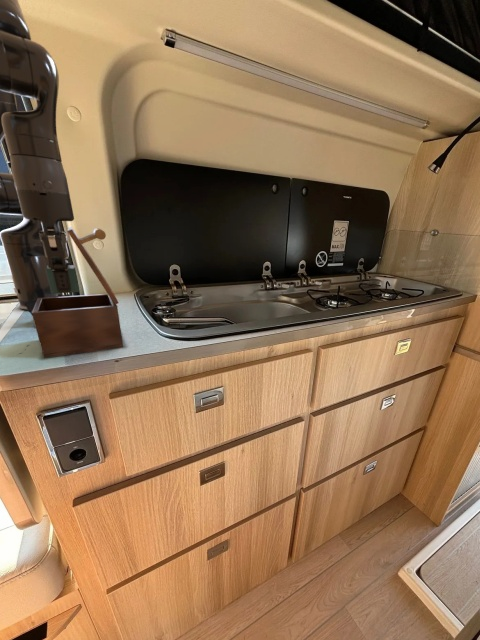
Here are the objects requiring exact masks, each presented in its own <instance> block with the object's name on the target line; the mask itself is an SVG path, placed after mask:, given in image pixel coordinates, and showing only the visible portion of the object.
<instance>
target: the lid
mask: <svg viewBox="0 0 480 640" xmlns="http://www.w3.org/2000/svg"><path fill="white" fill-rule="evenodd" d="M67 233H68V235H69V237H70V238H71V240H72V241H73V242H74V244H75V246H76V247H77V248H78V250H79V252H80V254H81V255H82V256H83V258H84V259H85V261H86V262H87V264H88V266H89V268H90V269H91V270H92V272H93V274H94V275H95V277H96V278H97V280H98V282H99V283H100V284H101V285H102V287H103V289H104V290H105V292H106V294H108V295H109V296H110V298H111V299H112V301H113V303H114V304H115V305H119V300H118V298H117V296H116V295H115V293H114V291H113V289H112V287H111V286H110V285H109V283H108V282H107V280H106V278H105V277H104V275H103V273H102V271H101V270H100V268H99V267H98V266H97V264H96V262H95V261H94V259H93V258H92V256H91V255H90V253H89V252H88V250H87V248H86V246H85V245H84V244H86V243H89V242H91V241H93V240H96V239H97V240H101V241H103V240H104V239H106V235H107V234H106V232H105V231H104V230H103V229H101V228H98V227H97V228H96V227H95V228H94V229H93V232H92V233H89V234H87V235H84V236H82V237H79V236H78V234H77V233H76V231H75V230H74V228H73V226H71V227H68V228H67Z"/></svg>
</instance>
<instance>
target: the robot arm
mask: <svg viewBox="0 0 480 640" xmlns="http://www.w3.org/2000/svg"><path fill="white" fill-rule="evenodd" d="M30 32H31V31H30V28H29V27H28V23H27V21H26V19H25V16H24V14H23V11H22V8H21V6H20V3H19V0H0V145H1V144H2V142H3V141H4V139H5V142H6V147H7V150H8V151H7V152H8V154H9V159H10V169H11V173H7V172H0V215H8V216H9V215H10V216H12V215H13V216H22V217H23V220H22V221H21V222H20V223H18V224H17V225H15V226H12V227H10V228H9V227H8V228H6V229H3V230H1V231H0V240H1V244H2V247H3V251H4V255H5V259H6V261H7V265H8V268H9V272H10V276H11V279H12V282H13V285H14V287H13V290H14V293H15V294H16V297H17V300H18V304H19V309H21V310H25V311H29V310H28V309H27V307H26V306H25V302H27V301H33V300H37V299H38V298H48V297H56V296H61V295H63V294H64V293H63V292H71V285H70V280H69V275H68V270H69V268H68V265H70V264H69V263H70V262H69V257H70V256H69V255H70V254H69V249H68V245H67V243H68V236H67V233H66V231H61V227H60V222H73V221H74V220H75V215H74V210H73V205H72V204H73V203H72V199H71V194H70V190H69V183H68V180H67V179H68V178H67V175H66V173H65V169H64V165H63V161H62V156H61V150H60V144H59V139H58V133H57V106H58V97H59V88H60V75H59V69H58V67H57V63H56V62H55V60H54V58H53V56H52V55H51V53H50V52H49V51H48V49H47V48H46V47H45V46H43V45H42V44H40V43H38V42H36V41H34V40H32V36H31V33H30ZM16 96H21V97H23V98H28V99H33V100H35V101H36V106H35V108H34V109H33V110H32V109H31V110H18V105H17V104H18V103H17V98H16ZM47 266H49V268H50V269H51V270H52V272H53V273H54V278H55V282H56V286H57V291H58V292H60V293H55V294H52V293H51V290H50V285H49V281H48V277H47V273H46V267H47Z"/></svg>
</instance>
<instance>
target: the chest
mask: <svg viewBox="0 0 480 640" xmlns="http://www.w3.org/2000/svg"><path fill="white" fill-rule="evenodd" d="M31 317H32V319H33V323H34V326H35V327H34V328H35V331H36V334H37V337H38V341H39V344H40V348H41V352H42V356H43V359H49V358H56V357H63V356H69V355H71V356H72V355H76V354H85V353H91V352H97V351H103V350H112V349H119V348H124V342H123V341H124V340H123V334H122V330H121V329H122V328H121V322H120V315H119V309H118V304H116V305H115V304H114V303H113V301H112V299H111V298H110V296H109V295H108V293H100V294H98V293H97V294H83V295H71V296H64V297H48V298H38V299H37V302H36V304H35V307H34V309H33V312H32V315H31Z"/></svg>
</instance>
